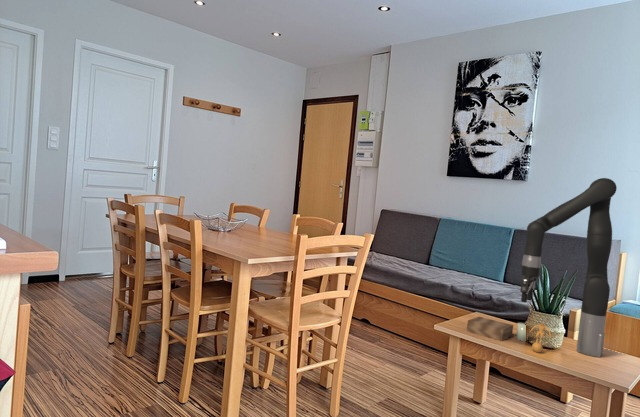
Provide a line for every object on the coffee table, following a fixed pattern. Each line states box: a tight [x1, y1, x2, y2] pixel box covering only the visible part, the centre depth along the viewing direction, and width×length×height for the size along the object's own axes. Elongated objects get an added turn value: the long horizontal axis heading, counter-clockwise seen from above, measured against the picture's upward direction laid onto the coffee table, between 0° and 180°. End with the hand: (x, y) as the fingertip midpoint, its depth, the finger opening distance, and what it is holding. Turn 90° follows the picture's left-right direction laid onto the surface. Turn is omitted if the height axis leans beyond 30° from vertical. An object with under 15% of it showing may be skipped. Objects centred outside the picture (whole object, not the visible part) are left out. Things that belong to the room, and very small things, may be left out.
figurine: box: [529, 322, 552, 353], centre depth 187 cm, size 8×6×12 cm
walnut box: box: [466, 316, 514, 342], centre depth 208 cm, size 16×14×5 cm
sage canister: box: [515, 322, 526, 342], centre depth 203 cm, size 5×5×7 cm
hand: (526, 301), depth 203 cm, fingers open, 8 cm apart
